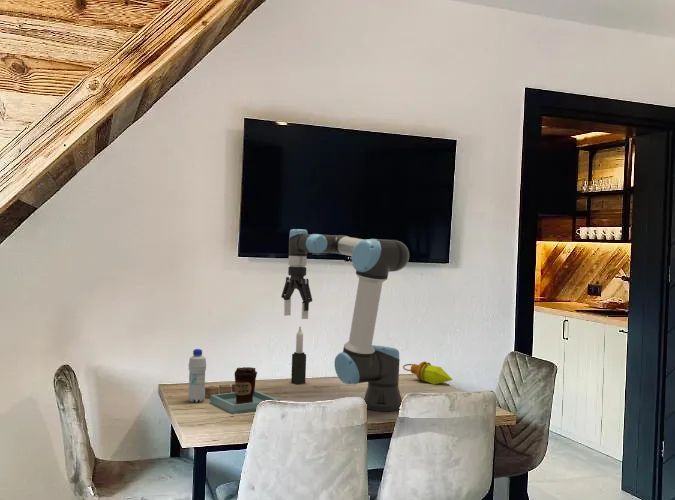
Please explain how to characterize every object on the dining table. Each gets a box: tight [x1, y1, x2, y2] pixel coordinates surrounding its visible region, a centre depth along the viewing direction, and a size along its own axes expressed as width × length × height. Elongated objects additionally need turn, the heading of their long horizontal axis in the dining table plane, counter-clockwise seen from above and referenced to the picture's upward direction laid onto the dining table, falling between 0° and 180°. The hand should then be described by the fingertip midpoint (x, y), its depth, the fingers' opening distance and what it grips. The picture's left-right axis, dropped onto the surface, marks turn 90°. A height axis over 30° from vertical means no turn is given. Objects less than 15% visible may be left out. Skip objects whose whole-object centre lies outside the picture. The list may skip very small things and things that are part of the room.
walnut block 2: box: [218, 384, 232, 394], centre depth 268 cm, size 4×4×4 cm
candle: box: [290, 326, 307, 385], centre depth 297 cm, size 5×5×25 cm
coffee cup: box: [234, 366, 258, 404], centre depth 253 cm, size 9×8×13 cm
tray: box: [209, 389, 280, 415], centre depth 253 cm, size 19×19×3 cm
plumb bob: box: [402, 361, 453, 385], centre depth 308 cm, size 9×9×25 cm
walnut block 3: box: [231, 383, 235, 393], centre depth 272 cm, size 4×4×4 cm
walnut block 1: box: [205, 385, 219, 399], centre depth 265 cm, size 4×4×4 cm
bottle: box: [187, 348, 207, 404], centre depth 257 cm, size 7×7×20 cm
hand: (295, 317), depth 281 cm, fingers open, 13 cm apart
